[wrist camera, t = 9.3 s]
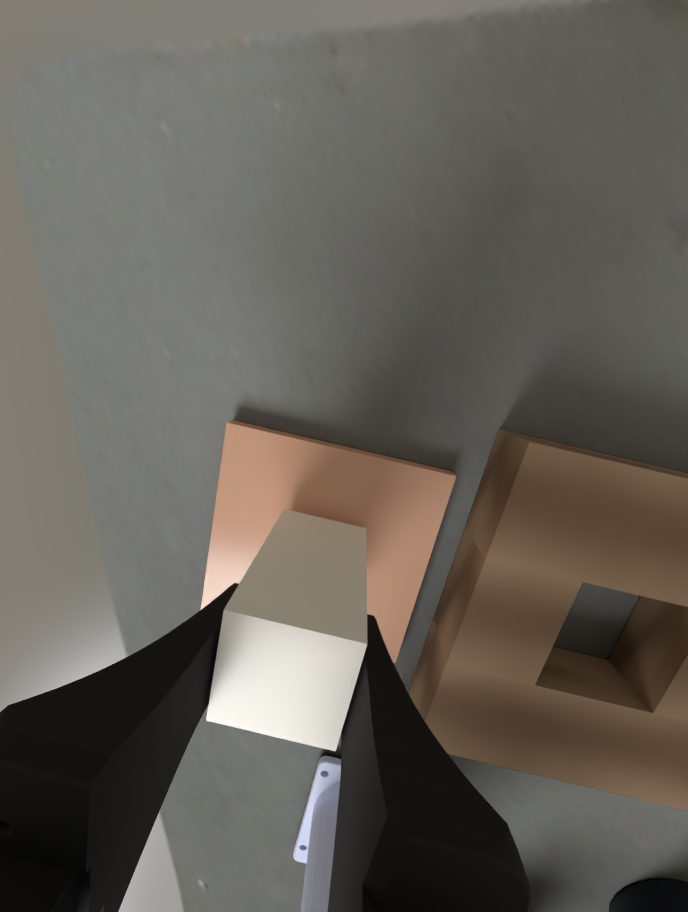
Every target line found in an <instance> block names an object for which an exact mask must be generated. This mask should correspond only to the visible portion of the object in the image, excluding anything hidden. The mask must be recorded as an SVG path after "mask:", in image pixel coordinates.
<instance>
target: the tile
mask: <svg viewBox="0 0 688 912" xmlns="http://www.w3.org/2000/svg"><path fill="white" fill-rule="evenodd" d="M455 479H456V475H455V474H454V473H453V472H452V471H448V470H444V469H440V468H435V467H431V466H427V465H423V464H418V463H414V462H410V461H405V460H401V459H397V458H393V457H388V456H384V455H380V454H376V453H371V452H367V451H363V450H359V449H354V448H350V447H346V446H341V445H337V444H333V443H329V442H324V441H320V440H316V439H312V438H307V437H303V436H299V435H294V434H290V433H286V432H282V431H277V430H273V429H269V428H265V427H260V426H256V425H252V424H248V423H243V422H239V421H235V420H232V421H229V422H227V424H226V431H225V438H224V446H223V453H222V460H221V467H220V475H219V482H218V489H217V496H216V503H215V511H214V518H213V525H212V532H211V540H210V547H209V554H208V561H207V568H206V576H205V583H204V590H203V597H202V605H201V609H203V608H204V607H205V606H207V605H208V604H209V603H210V602H212V601H213V600H214V599H215V598H217V597H218V596H219V595H220V594H221V593H223V592H224V591H225V590H226V589H227V588H228V587H230V586H231V585H232V584H234V583H238V584H239V583H240V582H241V580H242V578H243V577H244V575H245V573H246V572H247V570H248V568H249V567H250V565H251V563H252V562H253V560H254V558H255V557H256V555H257V553H258V552H259V550H260V548H261V547H262V545H263V543H264V542H265V540H266V538H267V537H268V535H269V533H270V531H271V530H272V528H273V526H274V525H275V523H276V521H277V520H278V518H279V516H280V515H281V513H282V511H283V510H284V509H287V510H291V511H296V512H300V513H304V514H308V515H313V516H317V517H321V518H325V519H330V520H334V521H338V522H342V523H346V524H351V525H355V526H359V527H363V528H366V535H367V614H369V615H373V616H375V618H376V620H377V623H378V626H379V629H380V632H381V635H382V637H383V640H384V642H385V645H386V647H387V650H388V652H389V654H390V657H391V659H392V661H393V663H396V660H397V657H398V654H399V651H400V648H401V645H402V642H403V639H404V636H405V632H406V629H407V626H408V623H409V620H410V617H411V614H412V611H413V608H414V605H415V602H416V599H417V596H418V593H419V590H420V586H421V583H422V580H423V577H424V574H425V571H426V568H427V565H428V562H429V559H430V556H431V553H432V550H433V547H434V543H435V540H436V537H437V534H438V531H439V528H440V525H441V522H442V519H443V516H444V513H445V510H446V507H447V504H448V501H449V497H450V494H451V491H452V488H453V485H454V482H455Z"/></svg>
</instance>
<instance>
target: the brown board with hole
mask: <svg viewBox="0 0 688 912" xmlns="http://www.w3.org/2000/svg"><path fill="white" fill-rule="evenodd" d="M583 582H584V583H588V584H592V585H596V586H601V587H605V588H609V589H613V590H618V591H622V592H626V593H630V594H635V595H639V596H641V597H640V599H639V600H638V602H637V604H636V606H635V608H634V610H633V612H632V614H631V616H630V618H629V620H628V622H627V623H626V625H625V627H624V629H623V631H622V633H621V635H620V637H619V639H618V641H617V643H616V645H615V647H614V648H613V650H612V652H611V654H610V656H609V658H608V660H607V659H603V658H599V657H594V656H590V655H586V654H582V653H578V652H573V651H569V650H565V649H561V648H556V647H553V645H554V643H555V641H556V639H557V636H558V634H559V632H560V630H561V628H562V626H563V624H564V621H565V619H566V617H567V615H568V613H569V611H570V608H571V606H572V604H573V602H574V600H575V598H576V596H577V593H578V591H579V589H580V587H581V585H582V583H583ZM408 694H409V695H410V697H411V699H412V701H413V703H414V704H415V706H416V708H417V709H418V711H419V713H420V714H421V716H422V718H423V719H424V721H425V722H426V724H427V726H428V727H429V729H430V730H431V732H432V733H433V735H434V736H435V737H436V739H437V740H438V741H439V743H440V744H441V746H442V747H443V748H444V750H445V751H446V753H447V754H450V755H454V756H458V757H462V758H467V759H471V760H475V761H479V762H483V763H488V764H492V765H496V766H500V767H504V768H509V769H513V770H517V771H521V772H525V773H530V774H534V775H538V776H542V777H547V778H551V779H555V780H559V781H563V782H568V783H572V784H576V785H580V786H584V787H589V788H593V789H597V790H601V791H605V792H610V793H614V794H618V795H622V796H626V797H631V798H635V799H639V800H643V801H648V802H652V803H656V804H660V805H664V806H669V807H673V808H677V809H681V810H685V811H688V473H685V472H681V471H676V470H672V469H668V468H663V467H659V466H655V465H651V464H646V463H642V462H638V461H633V460H629V459H625V458H621V457H616V456H612V455H608V454H604V453H599V452H595V451H591V450H586V449H582V448H578V447H574V446H569V445H565V444H561V443H556V442H552V441H548V440H544V439H539V438H535V437H531V436H526V435H522V434H518V433H514V432H509V431H505V430H501V429H499V431H498V434H497V437H496V440H495V442H494V445H493V448H492V451H491V454H490V457H489V460H488V463H487V466H486V468H485V471H484V474H483V477H482V480H481V483H480V486H479V489H478V491H477V494H476V497H475V500H474V503H473V506H472V509H471V512H470V515H469V517H468V520H467V523H466V526H465V529H464V532H463V535H462V538H461V540H460V543H459V546H458V549H457V552H456V555H455V558H454V561H453V564H452V566H451V569H450V572H449V575H448V578H447V581H446V584H445V587H444V590H443V592H442V595H441V598H440V601H439V604H438V607H437V610H436V613H435V615H434V618H433V621H432V624H431V627H430V630H429V633H428V636H427V639H426V641H425V644H424V647H423V650H422V653H421V656H420V659H419V662H418V665H417V667H416V670H415V673H414V676H413V679H412V682H411V685H410V688H409V690H408Z"/></svg>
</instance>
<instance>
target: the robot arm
mask: <svg viewBox="0 0 688 912" xmlns="http://www.w3.org/2000/svg"><path fill="white" fill-rule="evenodd" d="M238 585H239V584H238V583H234V584H232V585H231V586H230V587H228V588H227V589H226V590H225V591H224V592H223V593H221V594H220V595H219V596H218V597H217V598H215V599H214V600H213V601H212V602H210V603H209V604H208V605H207V606H205V607H204V608H203V609H201V610H200V611H199V612H197V613H196V614H195V615H194V616H192V617H191V618H189V619H188V620H187V621H185V622H184V623H182V624H181V625H179V626H178V627H176V628H175V629H174V630H172V631H171V632H169V633H168V634H166V635H164V636H163V637H161V638H160V639H158V640H156V641H155V642H153V643H152V644H150V645H148V646H146V647H145V648H143V649H141V650H139V651H138V652H136V653H134V654H132V655H130V656H128V657H126V658H124V659H123V660H121V661H118V662H117V663H115V664H112V665H111V666H108V667H106V668H104V669H102V670H100V671H98V672H96V673H93V674H91V675H89V676H86V677H84V678H82V679H79V680H77V681H74V682H72V683H69V684H67V685H64V686H62V687H60V688H57V689H54V690H51V691H49V692H45V693H43V694H40V695H37V696H34V697H31V698H29V699H26V700H23V701H20V702H17V703H14V704H11V705H8V706H7V707H6V708H5V709H3V710H2V711H1V712H0V912H118V911H119V908H120V906H121V903H122V901H123V898H124V896H125V893H126V891H127V888H128V886H129V883H130V881H131V878H132V876H133V873H134V871H135V868H136V866H137V864H138V861H139V858H140V856H141V854H142V851H143V849H144V847H145V844H146V842H147V839H148V837H149V834H150V832H151V830H152V827H153V825H154V822H155V820H156V818H157V815H158V813H159V810H160V808H161V806H162V803H163V801H164V799H165V796H166V794H167V792H168V789H169V787H170V784H171V782H172V780H173V777H174V775H175V773H176V770H177V768H178V766H179V764H180V761H181V759H182V757H183V754H184V752H185V750H186V747H187V745H188V743H189V741H190V739H191V737H192V735H193V732H194V730H195V728H196V726H197V724H198V723H199V721H200V719H201V717H202V715H203V713H204V711H205V709H206V707H207V706H208V704H209V699H210V693H211V686H212V680H213V674H214V668H215V661H216V655H217V649H218V643H219V636H220V630H221V624H222V618H223V611H224V609H225V607H226V605H227V604H228V602H229V600H230V598H231V597H232V595H233V593H234V592H235V590H236V588H237V587H238ZM293 857H294V859H295V860H296V861H298V862H302V863H306V870H305V879H304V887H303V896H302V904H301V912H527V909H528V907H529V904H530V901H531V891H530V885H529V882H528V879H527V876H526V873H525V870H524V867H523V864H522V861H521V858H520V855H519V852H518V849H517V847H516V844H515V842H514V840H513V837H512V835H511V832H510V830H509V827H508V824H507V823H506V822H505V821H504V820H503V819H502V817H501V816H500V815H499V814H498V813H497V812H496V811H495V810H494V809H493V808H492V806H491V805H490V804H489V803H488V802H487V801H486V800H485V799H484V798H483V797H482V795H481V794H480V793H479V792H478V791H477V790H476V789H475V788H474V786H473V785H472V784H471V783H470V782H469V780H468V779H467V778H466V777H465V776H464V774H463V773H462V772H461V771H460V769H459V768H458V767H457V766H456V764H455V763H454V762H453V761H452V759H451V758H450V757H449V755H448V754H447V753H446V751H445V750H444V748H443V747H442V746H441V744H440V743H439V741H438V740H437V739H436V737H435V736H434V735H433V733H432V732H431V730H430V729H429V727H428V726H427V724H426V722H425V721H424V719H423V718H422V716H421V714H420V713H419V711H418V709H417V708H416V706H415V704H414V703H413V701H412V699H411V697H410V695H409V694H408V692H407V690H406V688H405V686H404V684H403V682H402V680H401V678H400V676H399V674H398V672H397V670H396V668H395V666H394V663H393V661H392V659H391V657H390V654H389V652H388V650H387V647H386V645H385V642H384V640H383V637H382V635H381V632H380V629H379V626H378V623H377V620H376V618H375V616H373V615H369V614H367V647H366V650H365V654H364V657H363V661H362V664H361V667H360V671H359V674H358V677H357V681H356V684H355V688H354V691H353V694H352V698H351V701H350V705H349V708H348V711H347V715H346V718H345V721H344V725H343V728H342V733H341V759H339V758H335V757H331V756H323V757H321V758H320V759H319V762H318V766H317V769H316V773H315V776H314V780H313V783H312V787H311V791H310V794H309V798H308V801H307V805H306V808H305V812H304V816H303V819H302V823H301V826H300V830H299V833H298V837H297V840H296V844H295V848H294V853H293Z"/></svg>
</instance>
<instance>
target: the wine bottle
mask: <svg viewBox="0 0 688 912" xmlns="http://www.w3.org/2000/svg"><path fill="white" fill-rule="evenodd" d="M609 912H688V884H687V883H685V882H680V881H675V880H670V879H653V880H648V881H643V882H638V883H636V884H634V885H631V886H629V887H627V888H625V889H624V890H622V891H621V892H620V893H619V894H617V895H616V896H615V897H614V899H613V901H612V902H611V904H610V907H609Z"/></svg>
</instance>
